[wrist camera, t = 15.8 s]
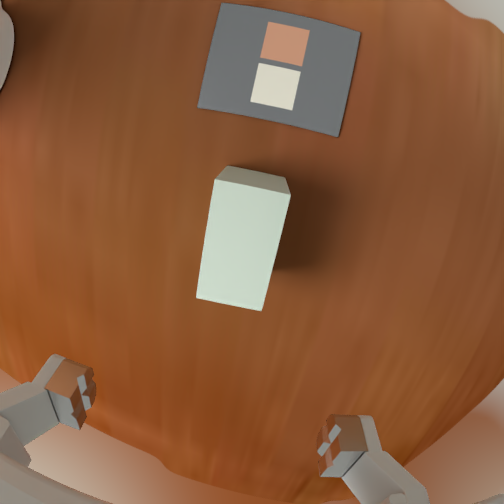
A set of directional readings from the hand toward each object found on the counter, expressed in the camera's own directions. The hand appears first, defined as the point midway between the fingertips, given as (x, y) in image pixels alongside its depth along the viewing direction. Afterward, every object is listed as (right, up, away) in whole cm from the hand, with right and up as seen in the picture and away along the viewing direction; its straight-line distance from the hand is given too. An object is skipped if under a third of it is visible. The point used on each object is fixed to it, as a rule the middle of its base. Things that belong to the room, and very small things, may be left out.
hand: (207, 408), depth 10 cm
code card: (+4, +20, +14) cm, 25 cm away
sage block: (+1, +8, +19) cm, 21 cm away
